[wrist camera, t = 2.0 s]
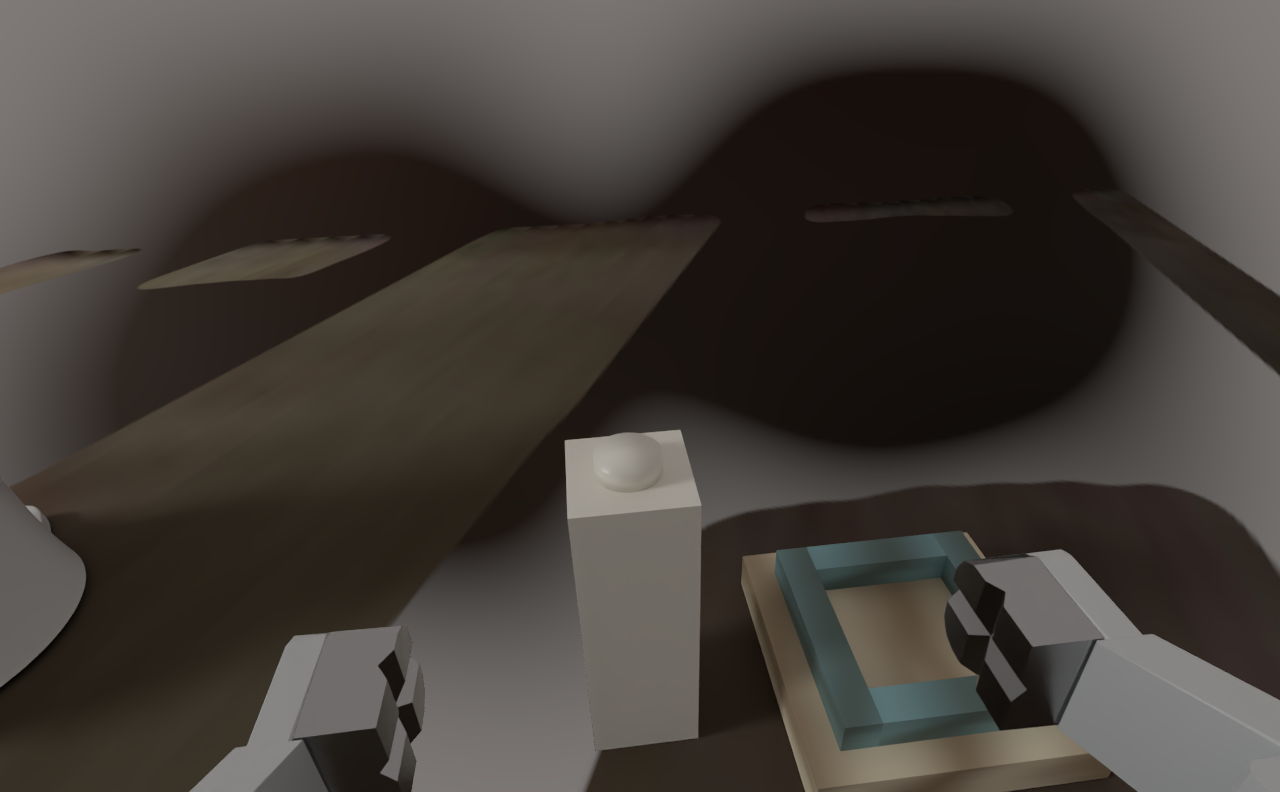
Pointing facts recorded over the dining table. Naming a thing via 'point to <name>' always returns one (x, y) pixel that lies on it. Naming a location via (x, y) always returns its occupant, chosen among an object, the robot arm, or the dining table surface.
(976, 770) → the birch base board
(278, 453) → the dining table surface
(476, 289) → the dining table surface
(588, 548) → the cream pillar
